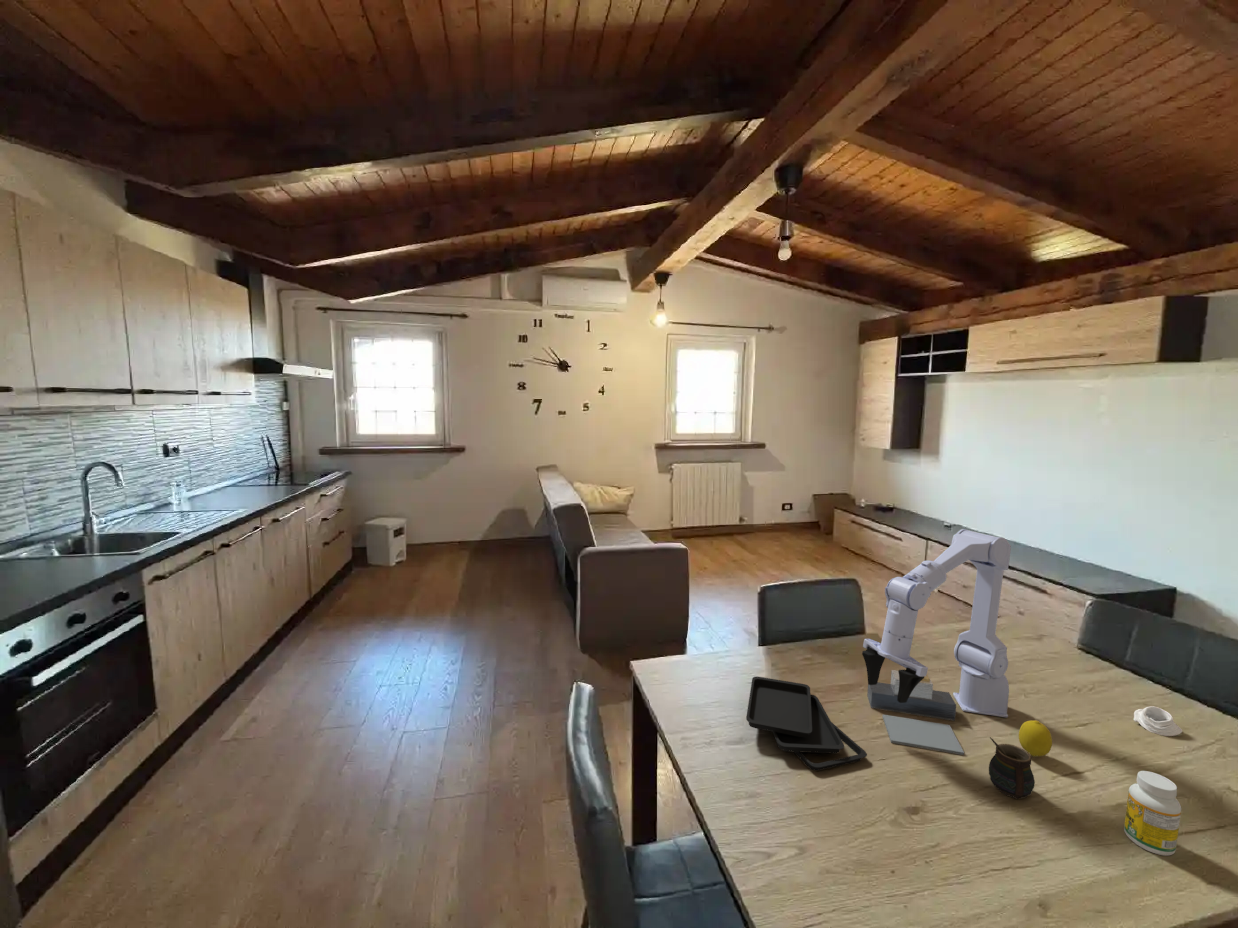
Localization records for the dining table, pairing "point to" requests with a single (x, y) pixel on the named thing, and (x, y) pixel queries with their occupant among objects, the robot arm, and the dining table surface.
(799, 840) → the dining table surface
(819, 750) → the stack of dark trays
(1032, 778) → the mate gourd
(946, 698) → the body
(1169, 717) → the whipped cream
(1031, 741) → the lemon
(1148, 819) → the supplement bottle
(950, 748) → the mat
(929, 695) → the pale grey block
